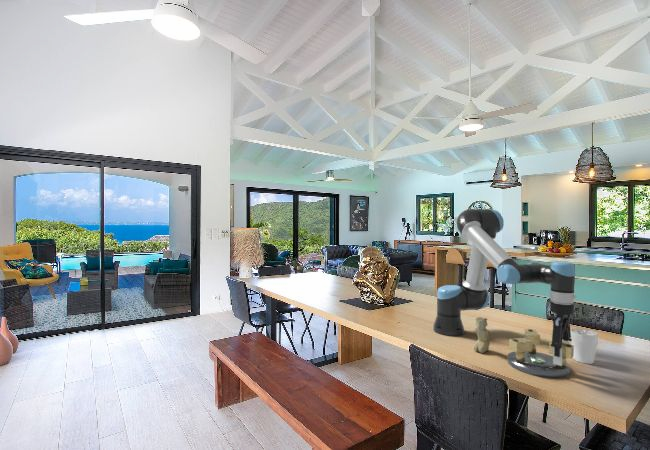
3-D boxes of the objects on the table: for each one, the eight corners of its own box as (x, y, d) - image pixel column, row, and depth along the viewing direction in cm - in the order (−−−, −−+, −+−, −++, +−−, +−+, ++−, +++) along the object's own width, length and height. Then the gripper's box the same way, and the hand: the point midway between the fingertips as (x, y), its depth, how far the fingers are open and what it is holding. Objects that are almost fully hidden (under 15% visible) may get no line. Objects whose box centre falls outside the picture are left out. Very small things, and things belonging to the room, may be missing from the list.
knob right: (548, 365, 132) (549, 342, 132) (551, 362, 135) (552, 339, 135) (570, 371, 127) (571, 347, 127) (573, 368, 130) (573, 344, 130)
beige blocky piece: (539, 356, 141) (540, 334, 140) (528, 355, 142) (529, 333, 142) (534, 350, 147) (535, 329, 147) (524, 349, 148) (524, 328, 148)
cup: (564, 356, 146) (565, 328, 146) (584, 356, 147) (585, 328, 147) (582, 365, 137) (583, 336, 137) (603, 365, 138) (603, 335, 138)
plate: (513, 373, 130) (513, 365, 130) (502, 352, 150) (503, 346, 150) (578, 381, 124) (578, 373, 124) (558, 359, 144) (558, 352, 144)
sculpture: (471, 350, 153) (471, 317, 152) (480, 347, 156) (481, 314, 156) (483, 355, 148) (483, 320, 147) (492, 351, 152) (493, 317, 151)
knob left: (523, 359, 138) (524, 337, 138) (531, 363, 134) (532, 340, 134) (508, 360, 136) (509, 338, 136) (516, 364, 132) (516, 341, 132)
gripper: (566, 309, 120) (565, 372, 121) (580, 299, 135) (579, 356, 136) (542, 305, 126) (540, 365, 126) (558, 296, 141) (557, 350, 141)
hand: (561, 360), depth 131 cm, fingers open, 9 cm apart
